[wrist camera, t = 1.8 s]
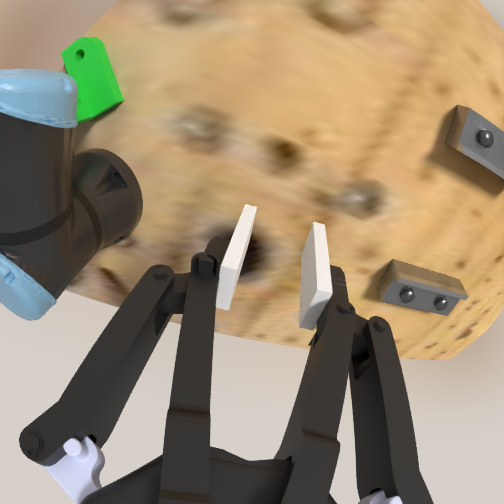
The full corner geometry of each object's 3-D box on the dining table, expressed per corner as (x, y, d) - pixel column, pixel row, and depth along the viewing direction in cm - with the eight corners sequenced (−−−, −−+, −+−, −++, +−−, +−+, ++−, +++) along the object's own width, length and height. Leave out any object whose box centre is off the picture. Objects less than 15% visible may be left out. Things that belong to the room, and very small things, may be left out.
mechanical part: (124, 100, 30) (86, 110, 24) (93, 119, 32) (55, 133, 25) (99, 29, 24) (59, 27, 18) (70, 52, 26) (30, 56, 20)
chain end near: (445, 143, 27) (460, 152, 23) (457, 104, 24) (474, 109, 20) (510, 183, 27) (526, 195, 23) (522, 151, 24) (539, 161, 20)
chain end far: (376, 287, 40) (381, 306, 37) (393, 259, 37) (400, 277, 34) (442, 303, 40) (449, 321, 37) (459, 279, 37) (468, 296, 34)
